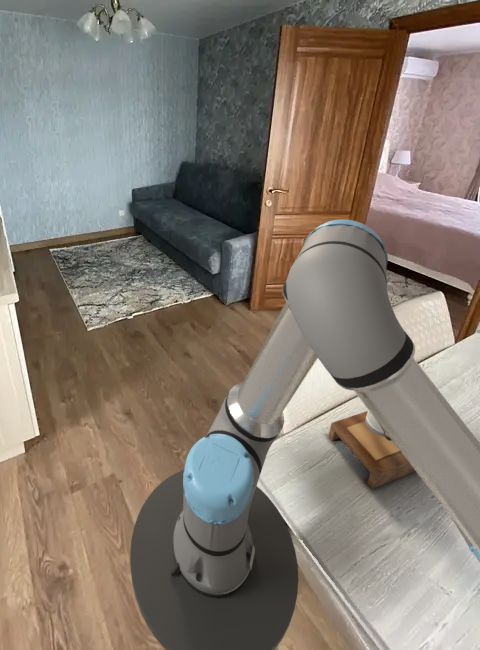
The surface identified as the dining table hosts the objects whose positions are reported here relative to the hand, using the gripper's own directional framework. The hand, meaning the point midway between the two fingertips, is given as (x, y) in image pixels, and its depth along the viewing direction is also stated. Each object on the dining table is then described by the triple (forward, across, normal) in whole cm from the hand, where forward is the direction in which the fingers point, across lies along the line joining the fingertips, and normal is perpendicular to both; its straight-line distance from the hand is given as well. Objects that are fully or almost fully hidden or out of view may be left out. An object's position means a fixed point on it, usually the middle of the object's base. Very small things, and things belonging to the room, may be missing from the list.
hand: (379, 374), depth 83 cm
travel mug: (-5, 0, -11) cm, 12 cm away
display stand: (-5, 0, -20) cm, 21 cm away
